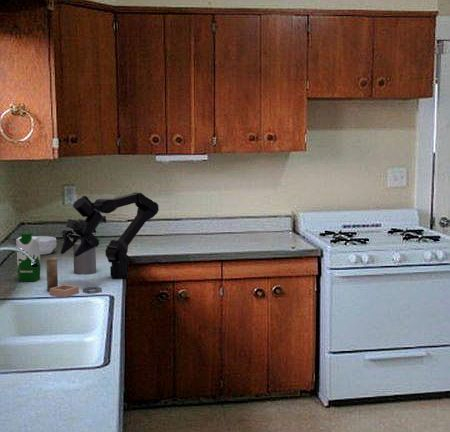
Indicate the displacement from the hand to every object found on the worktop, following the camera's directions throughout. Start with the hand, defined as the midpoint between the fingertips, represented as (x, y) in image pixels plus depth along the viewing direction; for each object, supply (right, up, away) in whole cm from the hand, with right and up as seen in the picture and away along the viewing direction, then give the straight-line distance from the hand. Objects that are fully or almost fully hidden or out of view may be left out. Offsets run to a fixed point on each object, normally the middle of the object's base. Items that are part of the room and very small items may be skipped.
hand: (68, 254), depth 257 cm
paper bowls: (-32, -4, +78) cm, 85 cm away
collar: (+1, -14, -9) cm, 17 cm away
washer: (+11, -14, -5) cm, 18 cm away
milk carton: (-20, -12, +16) cm, 28 cm away
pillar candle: (0, -10, +31) cm, 32 cm away
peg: (-5, -14, -4) cm, 15 cm away
